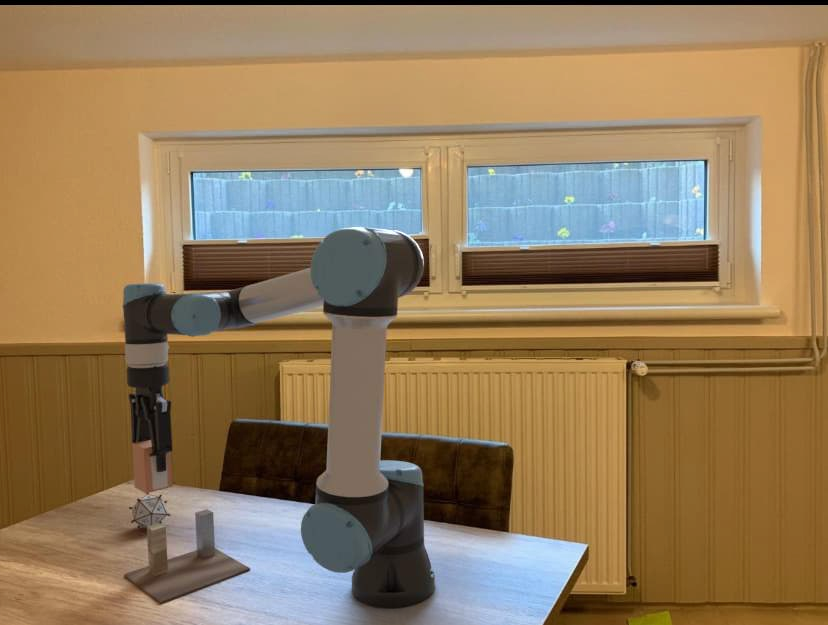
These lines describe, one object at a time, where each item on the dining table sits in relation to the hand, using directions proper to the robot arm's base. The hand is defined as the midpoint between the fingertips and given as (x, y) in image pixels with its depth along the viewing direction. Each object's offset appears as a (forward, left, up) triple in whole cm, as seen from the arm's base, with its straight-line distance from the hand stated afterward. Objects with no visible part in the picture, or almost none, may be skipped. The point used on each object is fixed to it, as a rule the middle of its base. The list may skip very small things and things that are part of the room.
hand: (153, 483), depth 130 cm
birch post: (0, 0, -18) cm, 18 cm away
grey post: (0, -10, -18) cm, 20 cm away
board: (-4, -4, -18) cm, 19 cm away
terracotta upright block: (0, 0, -1) cm, 1 cm away
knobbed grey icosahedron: (+24, -9, -18) cm, 31 cm away
